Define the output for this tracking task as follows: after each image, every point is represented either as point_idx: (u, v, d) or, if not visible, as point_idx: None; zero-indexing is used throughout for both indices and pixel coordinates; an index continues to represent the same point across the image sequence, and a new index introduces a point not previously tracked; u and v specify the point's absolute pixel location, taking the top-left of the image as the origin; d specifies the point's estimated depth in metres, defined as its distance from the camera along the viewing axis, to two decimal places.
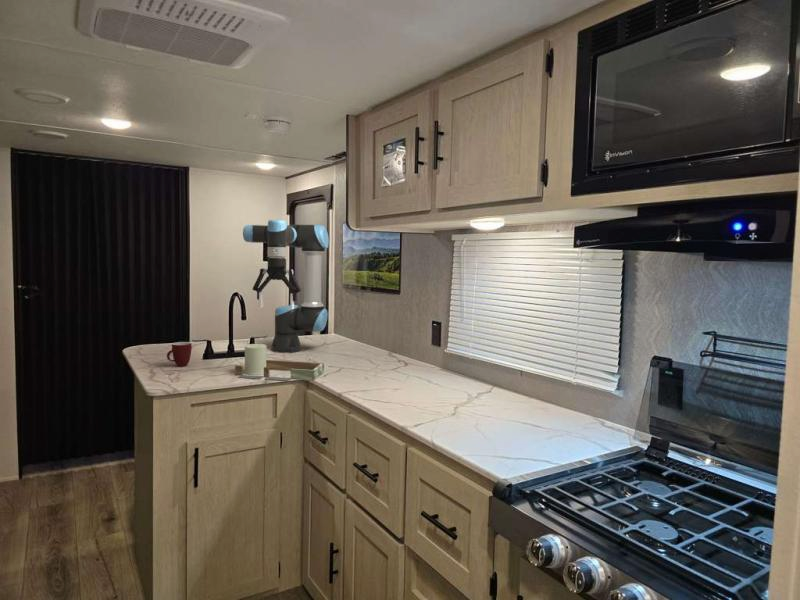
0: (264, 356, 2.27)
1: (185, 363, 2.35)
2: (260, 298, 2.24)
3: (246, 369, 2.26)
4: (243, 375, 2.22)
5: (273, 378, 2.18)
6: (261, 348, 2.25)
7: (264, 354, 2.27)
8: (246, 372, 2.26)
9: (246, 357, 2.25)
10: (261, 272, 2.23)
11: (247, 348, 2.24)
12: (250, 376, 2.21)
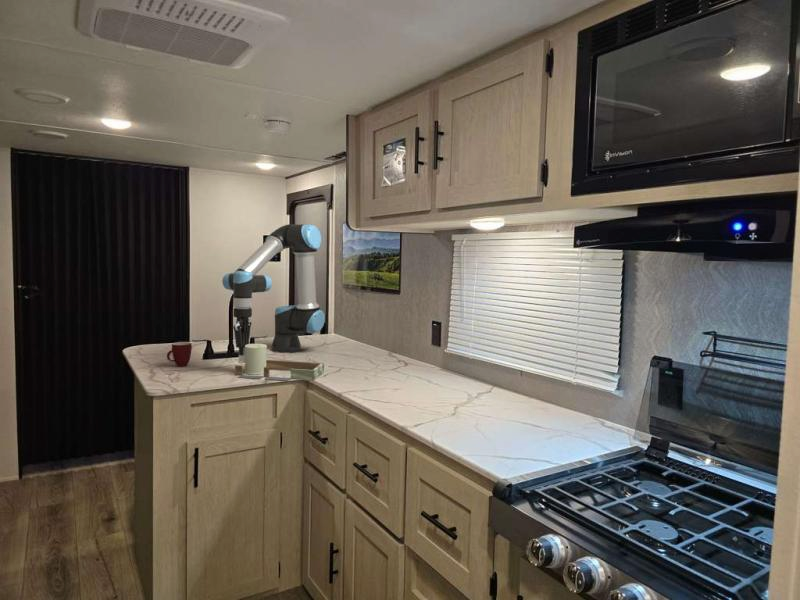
0: (264, 356, 2.27)
1: (185, 363, 2.35)
2: None
3: (246, 369, 2.26)
4: (243, 375, 2.22)
5: (273, 378, 2.18)
6: (261, 348, 2.25)
7: (264, 354, 2.27)
8: (246, 372, 2.26)
9: (246, 357, 2.25)
10: None
11: (247, 348, 2.24)
12: (250, 376, 2.21)
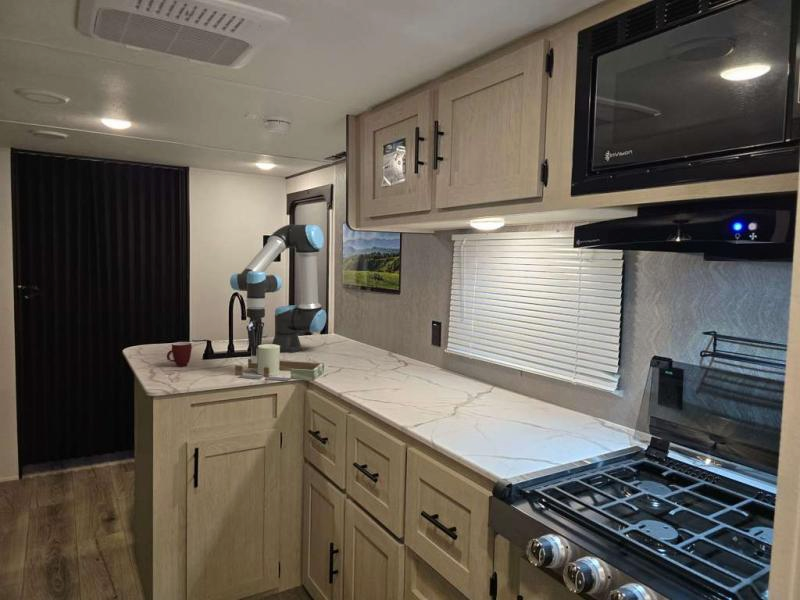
0: (278, 356, 2.27)
1: (185, 363, 2.35)
2: None
3: (260, 369, 2.25)
4: (243, 375, 2.22)
5: (273, 378, 2.18)
6: (275, 348, 2.25)
7: (278, 354, 2.27)
8: (260, 373, 2.25)
9: (260, 357, 2.24)
10: None
11: (261, 348, 2.24)
12: (250, 376, 2.21)
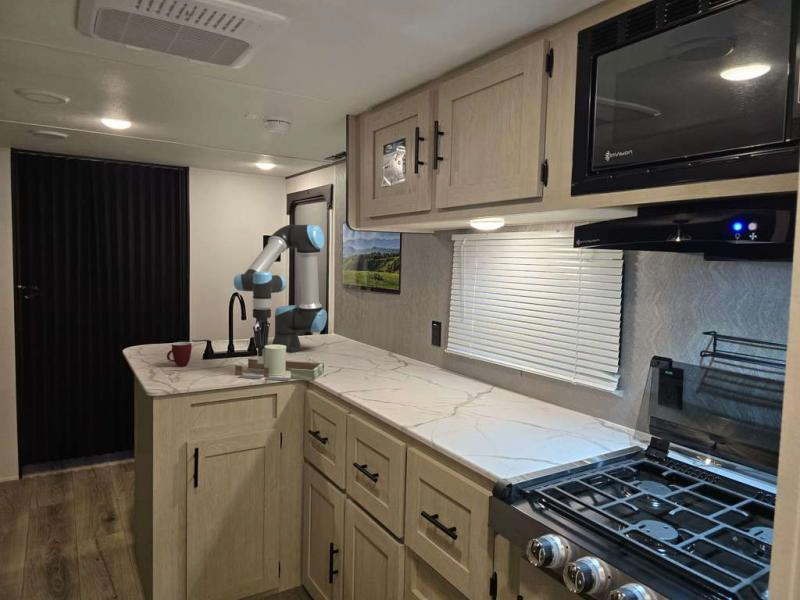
0: (284, 357, 2.27)
1: (185, 363, 2.35)
2: None
3: None
4: (243, 375, 2.22)
5: (273, 378, 2.18)
6: (282, 349, 2.25)
7: (284, 355, 2.27)
8: None
9: (267, 358, 2.24)
10: None
11: (268, 349, 2.23)
12: (250, 376, 2.21)
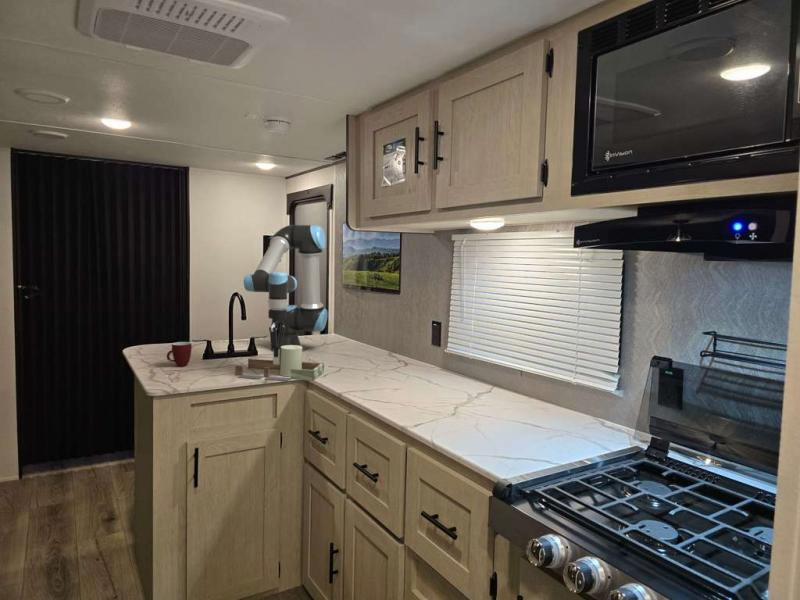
0: (301, 357, 2.27)
1: (185, 363, 2.35)
2: None
3: (284, 371, 2.24)
4: (243, 375, 2.22)
5: (273, 378, 2.18)
6: (300, 349, 2.25)
7: (301, 355, 2.27)
8: (284, 374, 2.24)
9: (284, 359, 2.23)
10: None
11: (286, 350, 2.23)
12: (250, 376, 2.21)
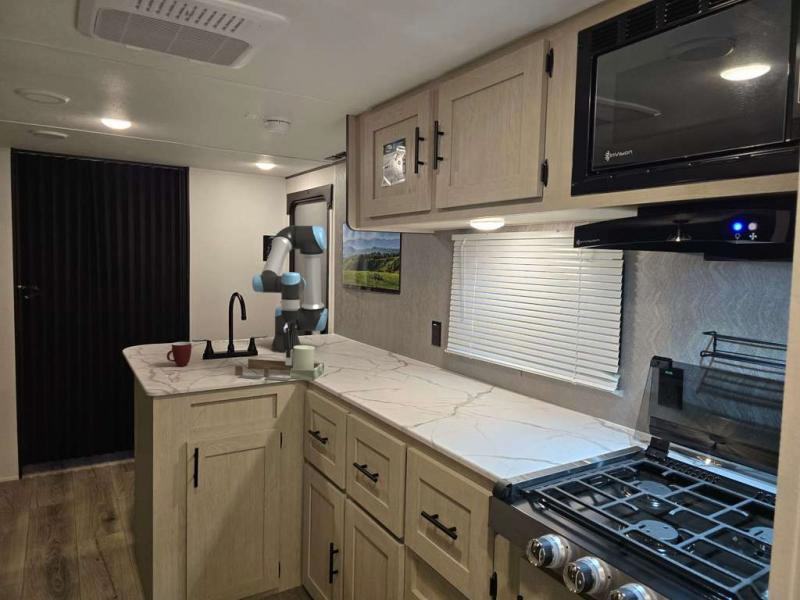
0: None
1: (185, 363, 2.35)
2: None
3: None
4: (243, 375, 2.22)
5: (273, 378, 2.18)
6: (314, 349, 2.26)
7: None
8: None
9: (299, 359, 2.23)
10: None
11: (301, 350, 2.23)
12: (250, 376, 2.21)
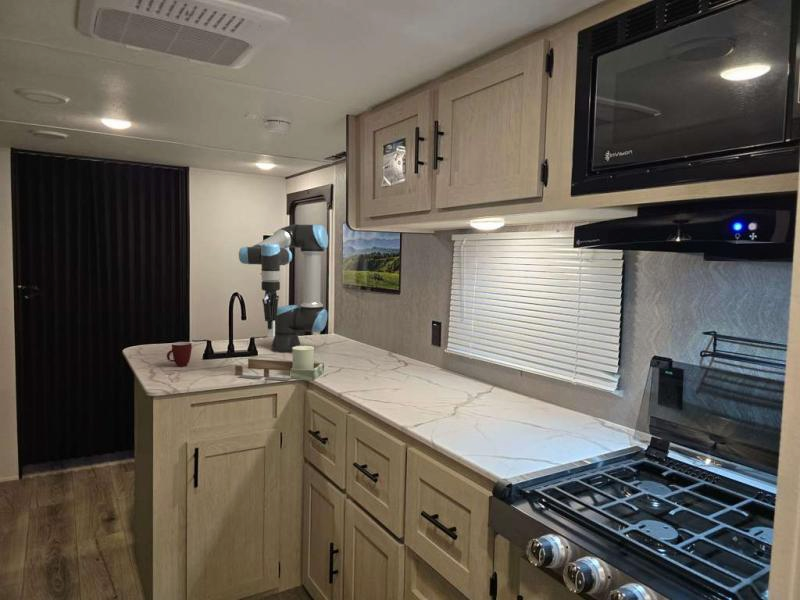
0: (313, 357, 2.28)
1: (185, 363, 2.35)
2: None
3: None
4: (243, 375, 2.22)
5: (273, 378, 2.18)
6: (313, 349, 2.26)
7: (313, 355, 2.28)
8: None
9: (298, 360, 2.23)
10: None
11: (300, 351, 2.22)
12: (250, 376, 2.21)
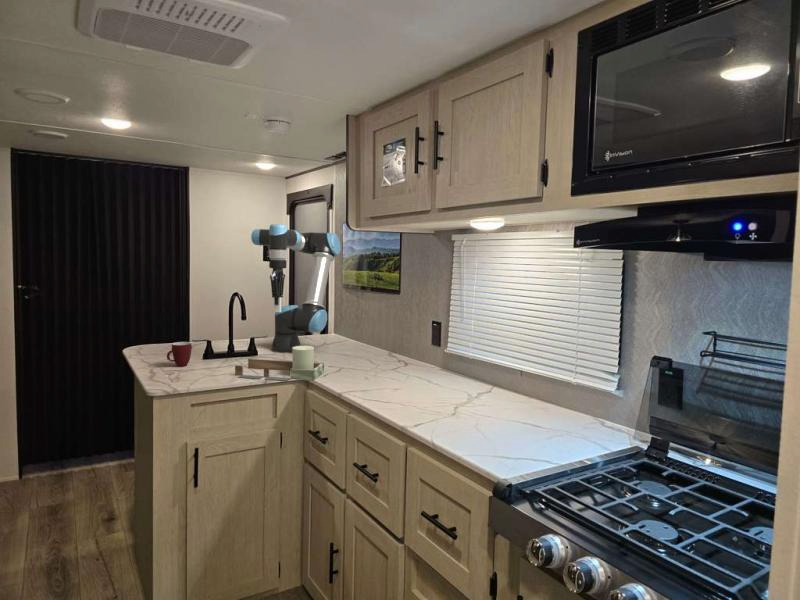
0: (313, 357, 2.28)
1: (185, 363, 2.35)
2: None
3: None
4: (243, 375, 2.22)
5: (273, 378, 2.18)
6: (313, 349, 2.26)
7: (313, 355, 2.28)
8: None
9: (298, 360, 2.23)
10: None
11: (300, 351, 2.22)
12: (250, 376, 2.21)
